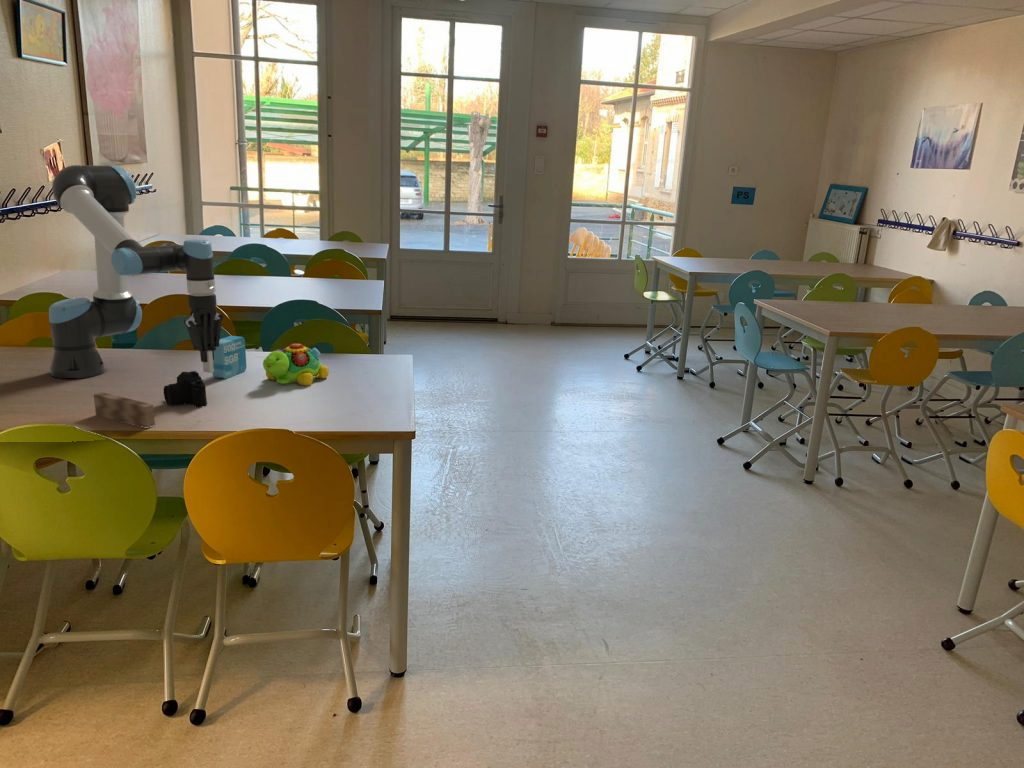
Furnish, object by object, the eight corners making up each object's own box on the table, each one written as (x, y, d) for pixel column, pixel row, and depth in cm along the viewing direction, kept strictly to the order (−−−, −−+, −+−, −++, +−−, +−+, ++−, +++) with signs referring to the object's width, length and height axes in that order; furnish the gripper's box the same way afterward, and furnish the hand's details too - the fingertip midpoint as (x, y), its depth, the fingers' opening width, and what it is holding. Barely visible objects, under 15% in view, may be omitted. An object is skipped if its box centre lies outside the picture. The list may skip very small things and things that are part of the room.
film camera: (158, 399, 219) (155, 369, 216) (191, 393, 225) (189, 364, 223) (176, 412, 208) (173, 382, 206) (211, 406, 215) (208, 376, 212)
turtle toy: (247, 386, 234) (245, 350, 231) (293, 369, 255) (291, 335, 252) (292, 394, 229) (291, 357, 225) (335, 375, 250) (334, 341, 246)
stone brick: (96, 415, 204) (93, 394, 202) (104, 412, 206) (101, 391, 204) (147, 428, 195) (145, 407, 194) (155, 426, 198) (153, 404, 196)
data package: (224, 380, 239) (221, 343, 236) (212, 378, 240) (209, 342, 237) (247, 370, 250) (245, 336, 247) (235, 369, 252) (233, 334, 248)
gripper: (193, 298, 210) (200, 378, 216) (228, 292, 221) (234, 368, 228) (174, 295, 213) (182, 374, 219) (209, 289, 224) (216, 365, 231)
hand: (208, 371), depth 224 cm, fingers closed
